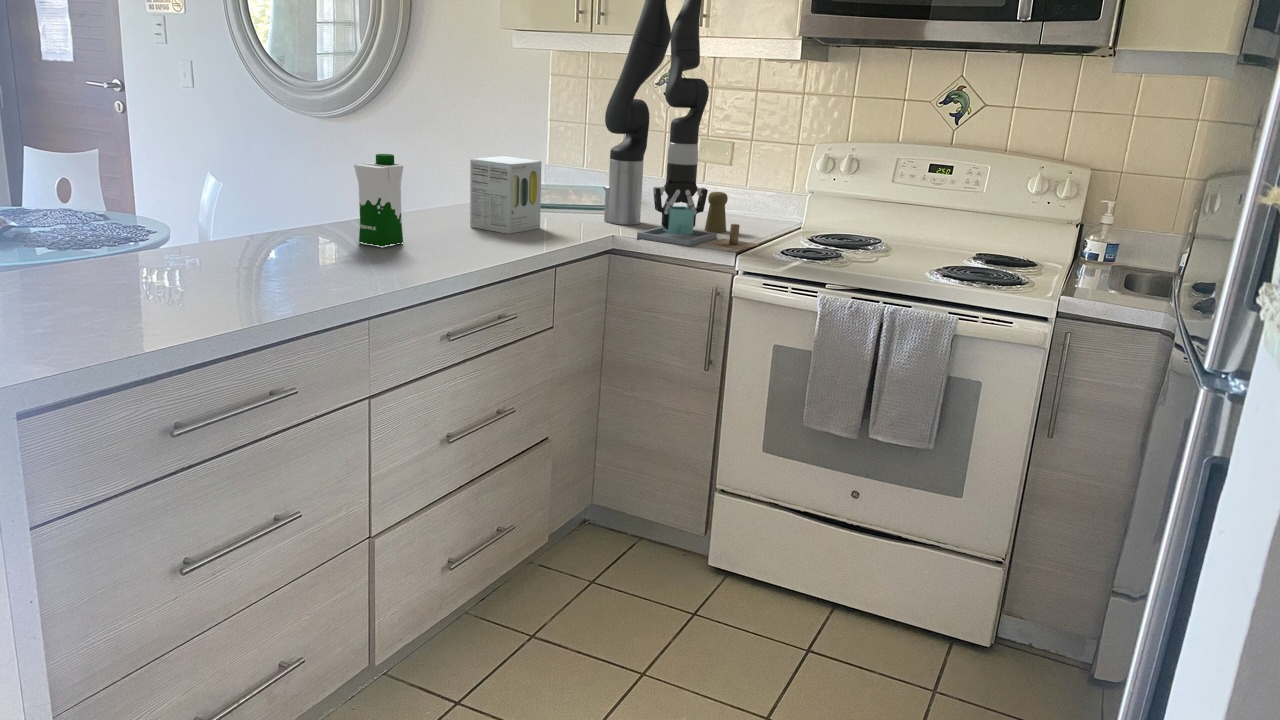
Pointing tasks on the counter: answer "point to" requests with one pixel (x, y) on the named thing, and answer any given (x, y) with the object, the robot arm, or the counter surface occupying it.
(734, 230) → the square board with knob
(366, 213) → the milk carton
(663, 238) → the tray
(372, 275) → the counter surface
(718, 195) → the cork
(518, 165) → the supplement box
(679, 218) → the open box
